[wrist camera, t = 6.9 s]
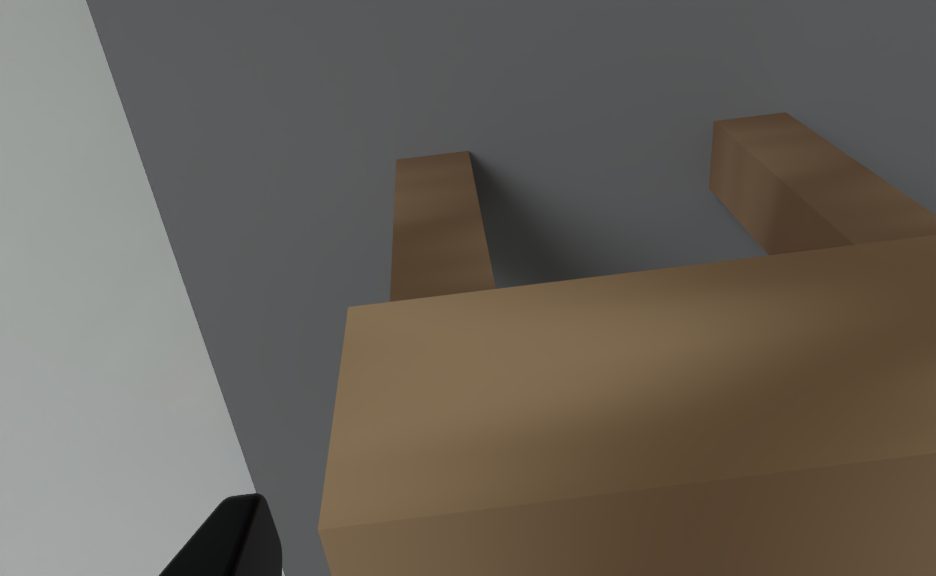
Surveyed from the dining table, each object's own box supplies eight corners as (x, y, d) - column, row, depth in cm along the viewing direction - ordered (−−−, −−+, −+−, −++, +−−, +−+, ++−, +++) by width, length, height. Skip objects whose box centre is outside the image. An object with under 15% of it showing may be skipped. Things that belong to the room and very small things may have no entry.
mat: (1070, -189, 9) (1098, -191, 8) (877, 507, 15) (888, 522, 15) (73, -77, 9) (60, -74, 8) (294, 577, 15) (292, 594, 14)
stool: (810, 88, 10) (1346, 401, 4) (762, 422, 13) (1035, 861, 7) (371, 141, 10) (318, 530, 4) (428, 464, 13) (441, 939, 7)
